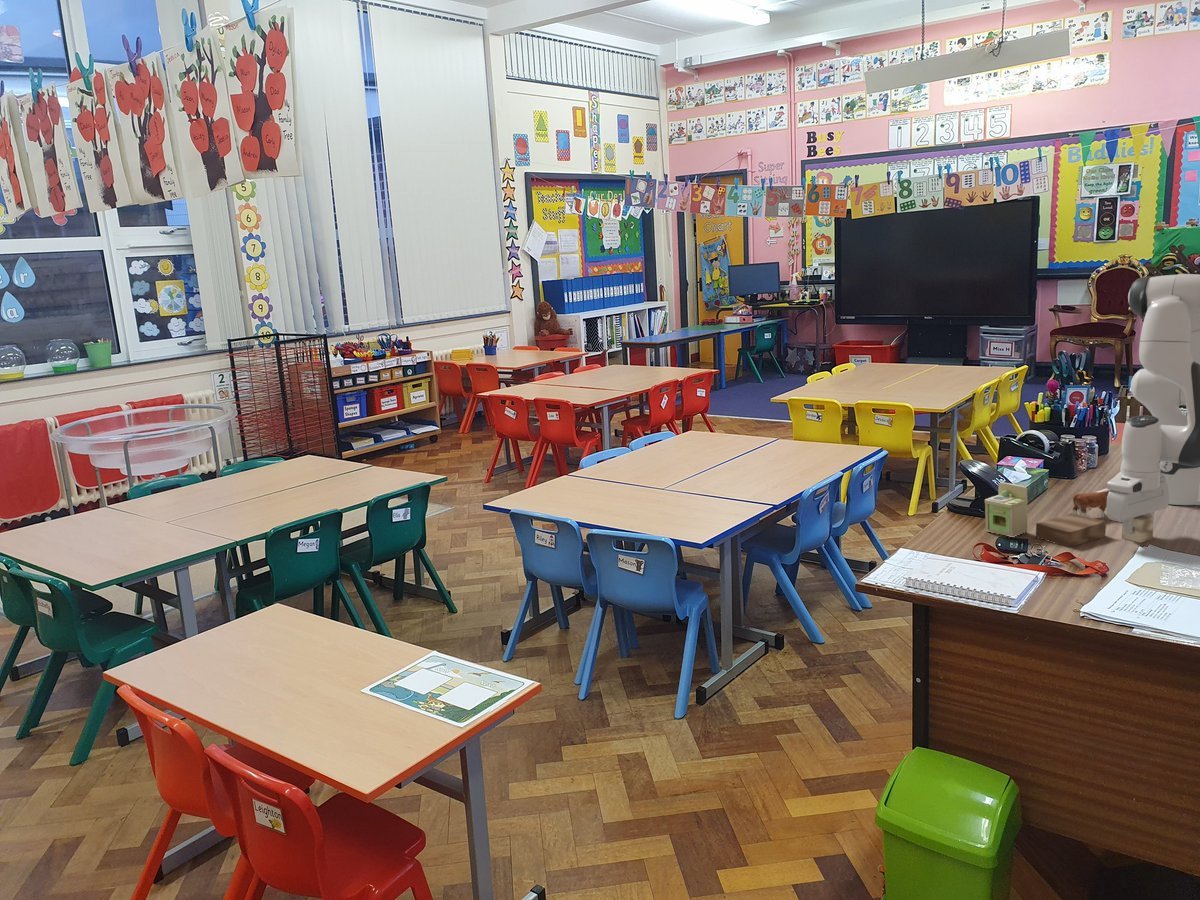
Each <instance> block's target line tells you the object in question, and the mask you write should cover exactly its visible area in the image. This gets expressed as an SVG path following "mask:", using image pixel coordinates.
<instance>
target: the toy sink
mask: <svg viewBox="0 0 1200 900" xmlns="http://www.w3.org/2000/svg"><path fill="white" fill-rule="evenodd" d="M997 487H998V490H997V491H998V492H997V493H998V494H997V495H994V496H991V497H988V498H985V499H984V508H985V509H984V512H985V513H984V515H985V517H984V519H985V521H984V523H985V532H986V533H989V532H991V533H990V534H993V533H996V534H995V535H998V534H1004V535H1010V536H1015V535H1018V534H1022V535H1024V534H1026V533H1025V532H1027V533H1028V488H1027V486H1025V485H1020V484H1015V483H1009V482H1003V481H1002V482H999V483H998V486H997ZM1023 533H1024V534H1023Z"/></svg>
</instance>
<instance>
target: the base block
mask: <svg viewBox="0 0 1200 900" xmlns="http://www.w3.org/2000/svg"><path fill="white" fill-rule="evenodd" d="M1089 517H1090V516H1089ZM1089 517H1085V516H1084V515H1080V514H1078V513H1077V514H1074V513H1067V514H1065V515H1061V516H1058V517H1053V518H1050V519H1047V520H1043V521H1039V522H1037V523H1036V524H1035V538H1036V537H1039V538H1043V539H1046V540H1049V541H1052V542H1051V543H1053V542H1055V543H1054V544H1056V543H1057V544H1058V545H1060V546H1064V547H1068V548H1071V547H1074V546H1078V545H1080V544H1085V543H1087V542H1091V541H1093V540H1097V539H1100V538H1103V537H1106V527H1107V522H1106V521H1105V520H1102V519H1101V520H1100V519H1096V518H1093V517H1090V518H1089ZM1039 538H1038V539H1039ZM1046 540H1045V541H1046ZM1049 541H1048V542H1049Z"/></svg>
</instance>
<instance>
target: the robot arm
mask: <svg viewBox="0 0 1200 900" xmlns="http://www.w3.org/2000/svg"><path fill="white" fill-rule="evenodd" d="M1127 299H1128V305H1129V308H1130V311H1131V312H1132V313H1134V315H1136V316H1139V317H1140V318H1139V319H1141V320H1143V324H1142V325H1141V326H1142V327H1141V332H1140V339H1139V345H1138V346H1139V347H1138V358H1139V359H1138V360H1139V362H1140V364H1141V366H1142V367H1143V368H1140V369H1139V370H1137V372H1136V373H1134V375H1133V377H1132V378H1131V380H1130V391H1131V394H1132V396H1133V398H1134V399H1135V400H1136V401H1138V402H1139V403H1141V404H1142V405H1143V406H1144V407H1145V408H1146V409H1147V410H1148V411H1149V413H1150V415H1148V414H1147V415H1146V414H1144V415H1140V414H1139V415H1135V416H1131V417H1129V418H1128V419H1126V421H1125V423H1124V427H1123V432H1122V439H1121V455H1122V461H1121V463H1120V469H1119V472H1118V473H1116V475H1114V477H1113V478H1111V479H1110V480H1108V481H1107V482H1106V489H1109V490H1111V491H1109V493H1108V496H1107V507H1106V516H1107V518H1108V520H1111V521H1114V522H1115V521H1116V522H1119V523H1123V525H1124V526H1125V529H1124V532H1125V533H1127V534H1132V533H1134V532H1135V531H1134V530H1135V527H1133V526H1132V523H1131V522H1133V518H1135V517H1138V516H1141V515H1148V516H1153V517H1155V512H1157V511H1160V510H1164V509H1167V507H1168V506H1169V505H1176V506H1200V274H1198V273H1196V274H1193V273H1178V274H1169V275H1167V274H1166V275H1159V276H1157V275H1156V276H1151V275H1150V276H1149V275H1148V276H1142V277H1139V278H1136V280H1135V281H1133V282H1132V284H1131V286H1130V289H1129V291H1128V295H1127ZM1180 406H1185V407H1186V408H1185V409H1186V414H1185V413H1183V412H1182V410H1181V409H1180Z"/></svg>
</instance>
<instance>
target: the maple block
mask: <svg viewBox="0 0 1200 900" xmlns="http://www.w3.org/2000/svg"><path fill="white" fill-rule="evenodd" d="M1154 517H1155V516H1154ZM1154 517H1153V516H1148V515H1141V516H1138V517H1135V518H1133V522H1131V523H1132V526H1133V527H1135V530H1134V531H1135V532H1134V533H1132V534H1127V533H1125V532H1124V529H1125V526H1124V525H1123V523H1122V522H1121V523H1122V524H1121V539H1124V540H1128V541H1131V542H1135V543H1139V544H1140V543H1144V542H1147V541H1151V540H1153V539H1154V537H1153V536H1154Z"/></svg>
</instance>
